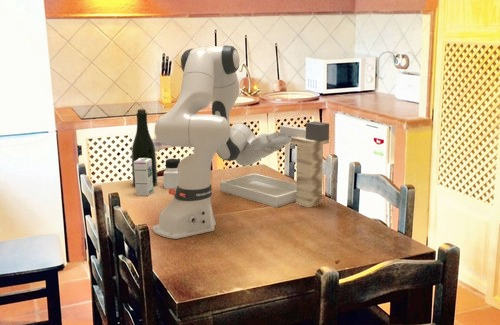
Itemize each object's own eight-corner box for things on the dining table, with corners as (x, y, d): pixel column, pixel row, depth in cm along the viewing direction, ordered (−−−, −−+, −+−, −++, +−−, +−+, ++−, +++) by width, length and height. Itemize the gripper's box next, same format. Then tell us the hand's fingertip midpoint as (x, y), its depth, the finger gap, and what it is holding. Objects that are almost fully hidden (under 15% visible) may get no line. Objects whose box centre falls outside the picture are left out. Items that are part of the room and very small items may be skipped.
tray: (276, 207, 231) (276, 197, 230) (220, 191, 253) (220, 181, 252) (310, 196, 245) (310, 186, 244) (254, 181, 267) (254, 173, 266)
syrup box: (148, 195, 248) (147, 161, 244) (135, 195, 249) (133, 160, 245) (153, 192, 253) (152, 158, 250) (140, 191, 254) (138, 157, 251)
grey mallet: (320, 141, 222) (320, 125, 221) (278, 134, 237) (278, 118, 236) (328, 139, 226) (329, 123, 224) (286, 132, 240) (287, 117, 239)
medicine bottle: (180, 188, 258) (179, 161, 255) (164, 188, 258) (162, 161, 255) (183, 184, 265) (182, 157, 262) (166, 184, 265) (165, 157, 262)
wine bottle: (158, 186, 260) (155, 110, 253) (134, 188, 258) (129, 111, 250) (155, 180, 270) (152, 107, 263) (132, 182, 268) (127, 108, 260)
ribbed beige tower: (310, 209, 228) (311, 141, 222) (290, 204, 235) (291, 138, 229) (327, 203, 235) (328, 137, 229) (307, 198, 242) (308, 134, 236)
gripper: (243, 141, 240) (264, 127, 230) (278, 134, 254) (300, 121, 244) (248, 156, 239) (270, 143, 230) (283, 148, 253) (306, 135, 244)
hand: (286, 131), depth 237 cm, fingers open, 8 cm apart
